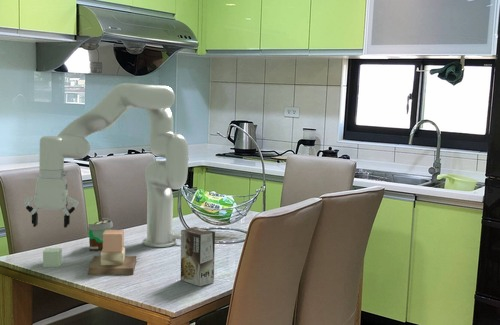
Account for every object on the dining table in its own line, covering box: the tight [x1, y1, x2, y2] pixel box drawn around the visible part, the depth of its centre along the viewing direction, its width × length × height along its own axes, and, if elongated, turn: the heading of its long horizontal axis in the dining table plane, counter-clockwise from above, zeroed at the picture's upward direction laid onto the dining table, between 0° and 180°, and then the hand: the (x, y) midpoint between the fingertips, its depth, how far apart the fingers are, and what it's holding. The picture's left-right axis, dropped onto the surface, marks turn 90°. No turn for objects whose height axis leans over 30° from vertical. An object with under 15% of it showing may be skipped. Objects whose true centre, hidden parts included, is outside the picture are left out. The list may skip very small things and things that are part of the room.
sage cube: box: [42, 247, 63, 268], centre depth 199 cm, size 5×5×5 cm
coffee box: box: [180, 226, 216, 287], centre depth 186 cm, size 9×6×16 cm
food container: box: [87, 217, 114, 252], centre depth 220 cm, size 12×6×10 cm, turn 168°
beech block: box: [100, 246, 126, 265], centre depth 198 cm, size 7×7×4 cm
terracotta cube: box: [103, 229, 125, 252], centre depth 197 cm, size 6×6×6 cm
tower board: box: [87, 255, 137, 276], centre depth 198 cm, size 14×14×2 cm
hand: (50, 226), depth 198 cm, fingers open, 9 cm apart
